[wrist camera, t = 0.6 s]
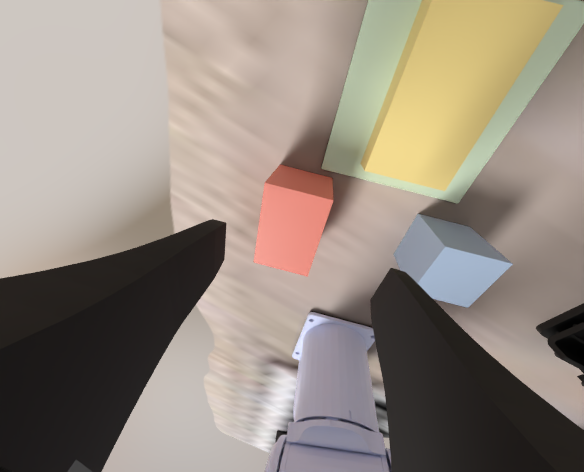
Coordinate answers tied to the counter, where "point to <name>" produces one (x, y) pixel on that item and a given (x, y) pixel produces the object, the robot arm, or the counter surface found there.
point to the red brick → (292, 219)
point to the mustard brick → (452, 84)
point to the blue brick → (449, 260)
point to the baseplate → (378, 75)
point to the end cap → (567, 337)
